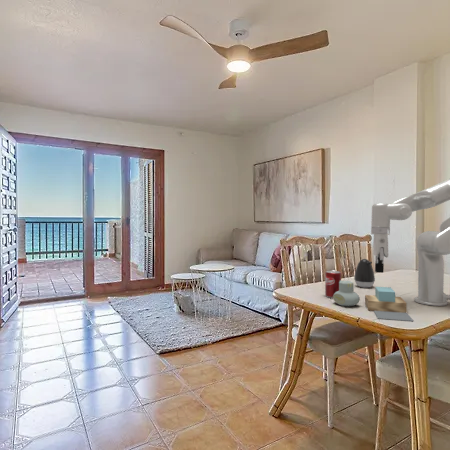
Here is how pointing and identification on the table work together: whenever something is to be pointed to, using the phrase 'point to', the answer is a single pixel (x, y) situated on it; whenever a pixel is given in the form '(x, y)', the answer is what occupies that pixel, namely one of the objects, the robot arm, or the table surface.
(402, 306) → the oak deck
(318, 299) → the table surface
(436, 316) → the table surface
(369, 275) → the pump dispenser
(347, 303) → the air freshener
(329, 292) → the soda can
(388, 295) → the teal box
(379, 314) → the grey mat
